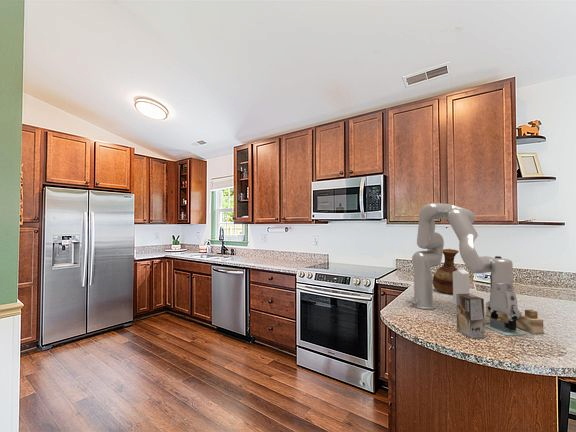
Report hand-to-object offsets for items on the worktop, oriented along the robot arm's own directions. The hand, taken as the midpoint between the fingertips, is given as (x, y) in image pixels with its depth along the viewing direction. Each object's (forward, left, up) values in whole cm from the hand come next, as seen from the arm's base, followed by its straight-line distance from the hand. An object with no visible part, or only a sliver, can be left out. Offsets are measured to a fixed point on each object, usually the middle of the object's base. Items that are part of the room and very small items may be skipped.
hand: (503, 325), depth 124 cm
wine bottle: (+19, +21, -2) cm, 28 cm away
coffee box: (-18, -2, -2) cm, 18 cm away
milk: (+11, +38, -2) cm, 40 cm away
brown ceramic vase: (+26, +68, -2) cm, 73 cm away
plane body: (+11, +6, -2) cm, 13 cm away
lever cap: (0, 0, -1) cm, 1 cm away
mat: (0, 0, -2) cm, 2 cm away
